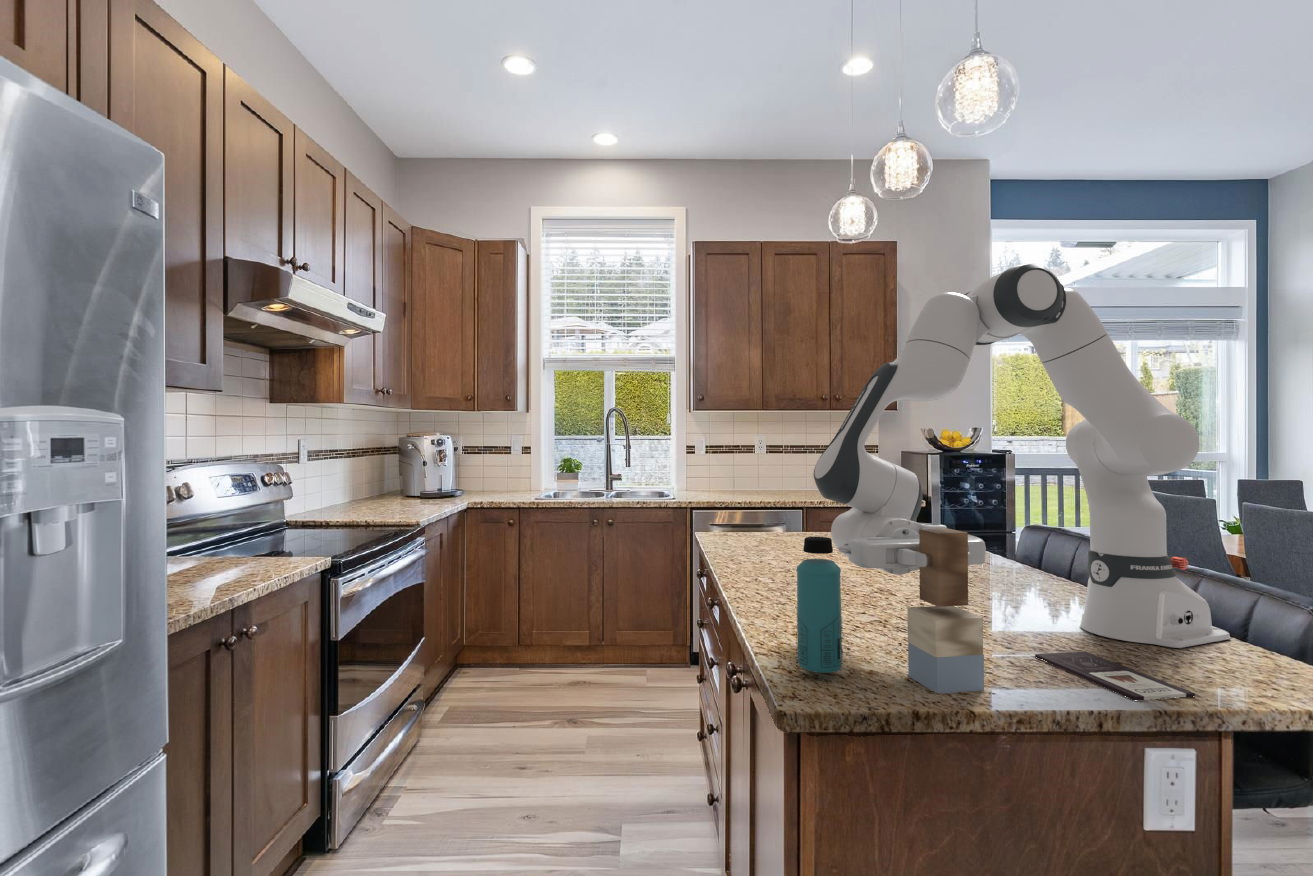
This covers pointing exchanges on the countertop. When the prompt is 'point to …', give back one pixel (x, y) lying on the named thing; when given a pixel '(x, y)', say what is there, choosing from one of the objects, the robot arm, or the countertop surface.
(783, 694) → the countertop surface
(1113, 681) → the chocolate bar
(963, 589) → the pillar
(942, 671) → the tower base
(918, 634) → the tower top
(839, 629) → the beverage bottle
